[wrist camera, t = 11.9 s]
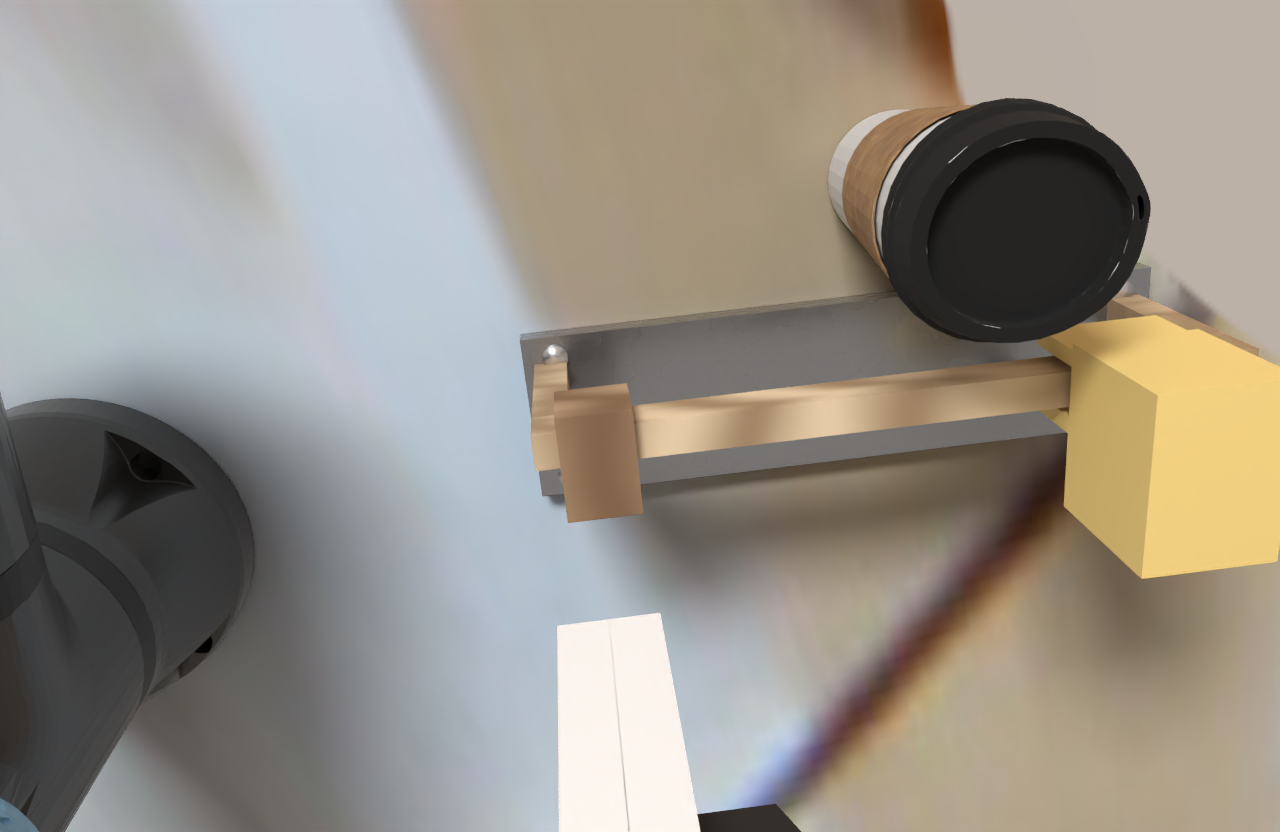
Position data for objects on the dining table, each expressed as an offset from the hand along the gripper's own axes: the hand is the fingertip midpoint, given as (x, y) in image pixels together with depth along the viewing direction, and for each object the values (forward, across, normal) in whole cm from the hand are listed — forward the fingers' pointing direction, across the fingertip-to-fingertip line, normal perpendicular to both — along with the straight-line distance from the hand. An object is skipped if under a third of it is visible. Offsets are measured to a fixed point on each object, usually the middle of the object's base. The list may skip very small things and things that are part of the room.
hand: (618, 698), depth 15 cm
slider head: (+33, +21, -7) cm, 40 cm away
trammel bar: (+33, +12, -7) cm, 36 cm away
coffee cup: (+35, +15, +1) cm, 38 cm away
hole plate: (+34, +12, -8) cm, 37 cm away
